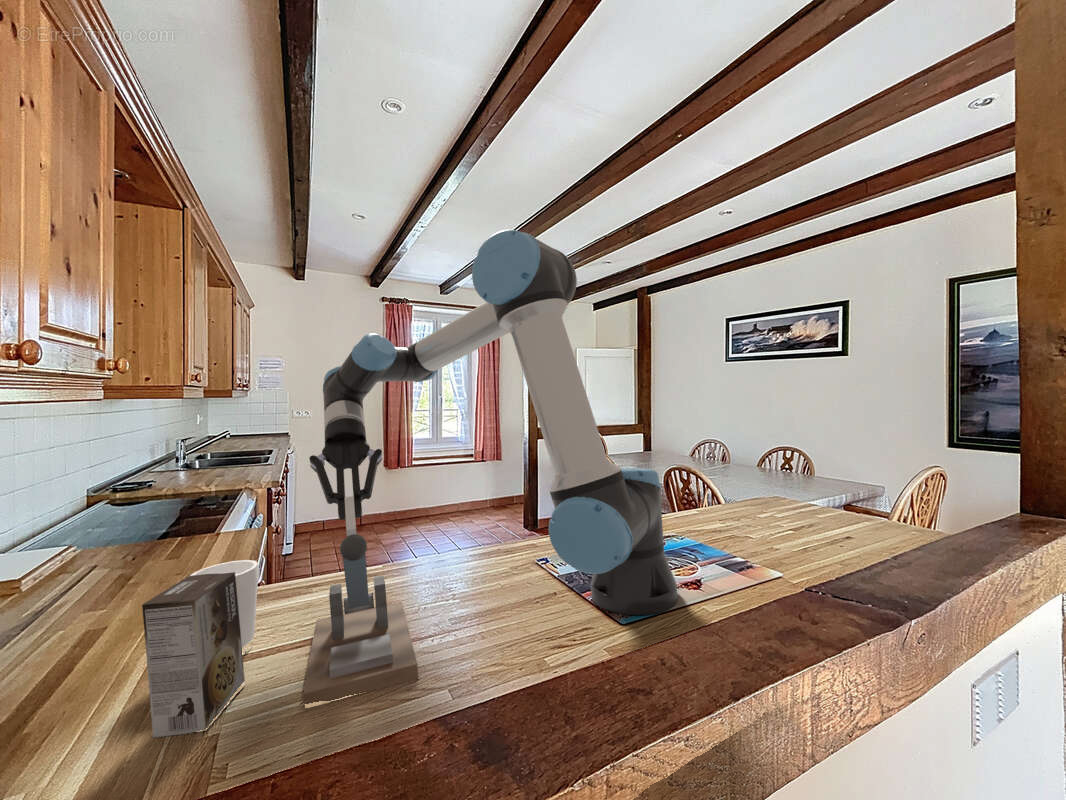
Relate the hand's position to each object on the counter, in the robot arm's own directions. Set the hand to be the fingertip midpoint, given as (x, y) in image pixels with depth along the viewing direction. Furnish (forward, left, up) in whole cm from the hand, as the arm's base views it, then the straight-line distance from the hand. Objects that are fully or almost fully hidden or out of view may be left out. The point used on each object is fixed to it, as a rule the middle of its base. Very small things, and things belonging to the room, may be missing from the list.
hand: (351, 533), depth 79 cm
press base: (-5, +6, -16) cm, 18 cm away
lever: (-2, +2, -11) cm, 12 cm away
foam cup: (+17, +10, -17) cm, 26 cm away
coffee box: (+7, +22, -17) cm, 28 cm away
